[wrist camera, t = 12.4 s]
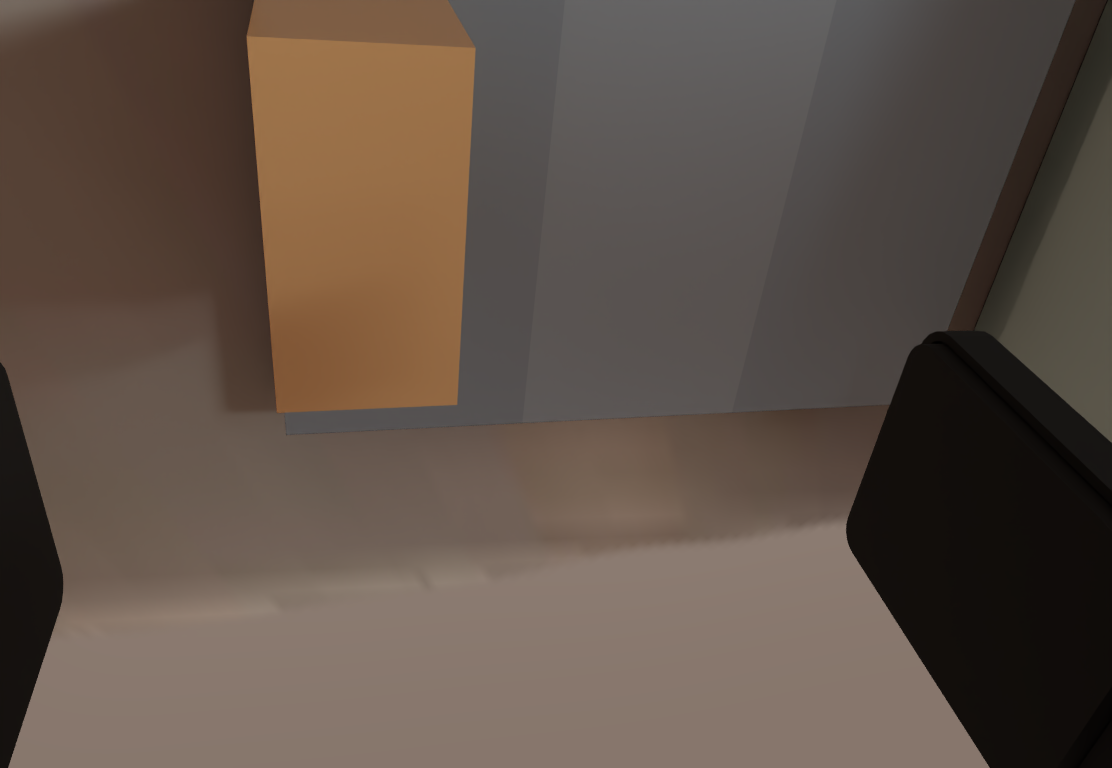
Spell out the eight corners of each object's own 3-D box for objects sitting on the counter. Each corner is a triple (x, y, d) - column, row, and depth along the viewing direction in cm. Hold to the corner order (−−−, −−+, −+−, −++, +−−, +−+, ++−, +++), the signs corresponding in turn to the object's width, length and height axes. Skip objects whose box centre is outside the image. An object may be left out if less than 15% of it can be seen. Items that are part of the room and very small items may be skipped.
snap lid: (1082, -189, 19) (1369, -169, 14) (884, 367, 26) (1023, 513, 21) (237, -304, 15) (201, -335, 10) (287, 390, 22) (281, 577, 17)
